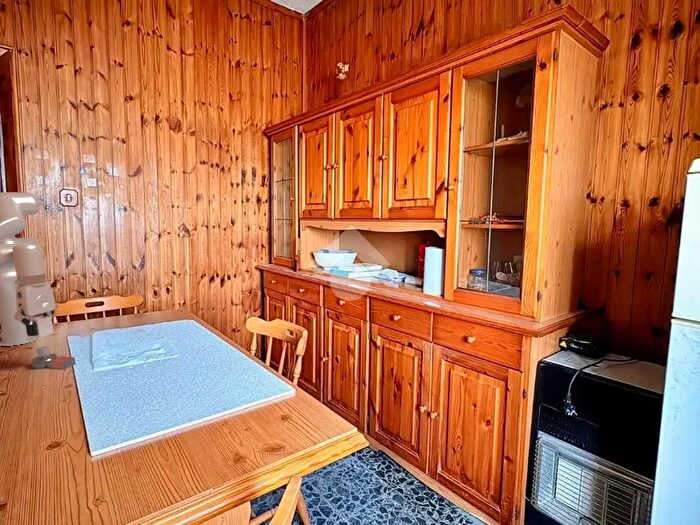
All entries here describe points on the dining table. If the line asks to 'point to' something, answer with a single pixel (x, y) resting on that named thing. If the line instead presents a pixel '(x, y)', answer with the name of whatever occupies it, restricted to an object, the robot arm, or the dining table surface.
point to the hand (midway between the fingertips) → (40, 332)
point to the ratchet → (51, 360)
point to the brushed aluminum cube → (42, 326)
